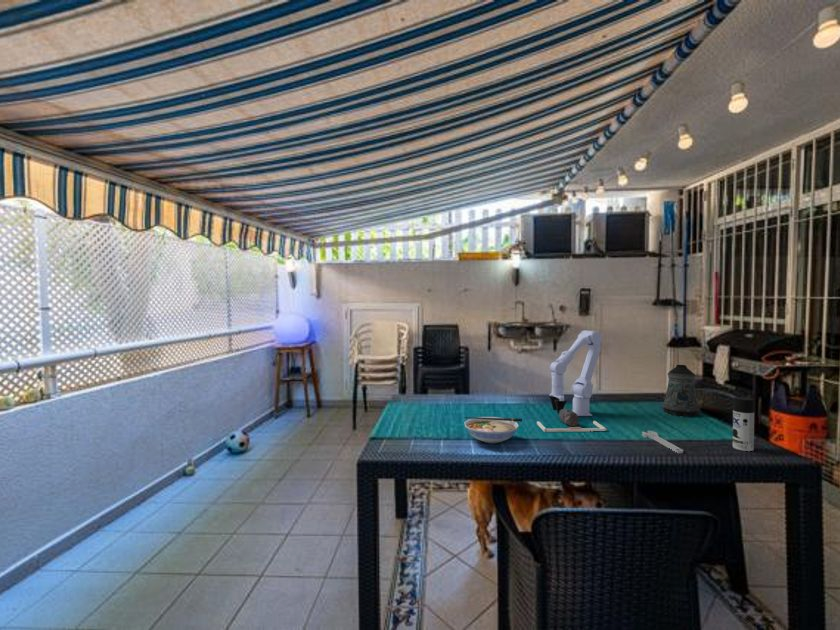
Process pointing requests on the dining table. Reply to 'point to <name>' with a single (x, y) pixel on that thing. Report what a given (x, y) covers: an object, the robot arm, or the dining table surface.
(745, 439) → the spray can
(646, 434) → the adjustable wrench
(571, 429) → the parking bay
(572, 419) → the perforated stone tool
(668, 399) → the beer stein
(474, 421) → the ramen bowl
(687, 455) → the dining table surface
